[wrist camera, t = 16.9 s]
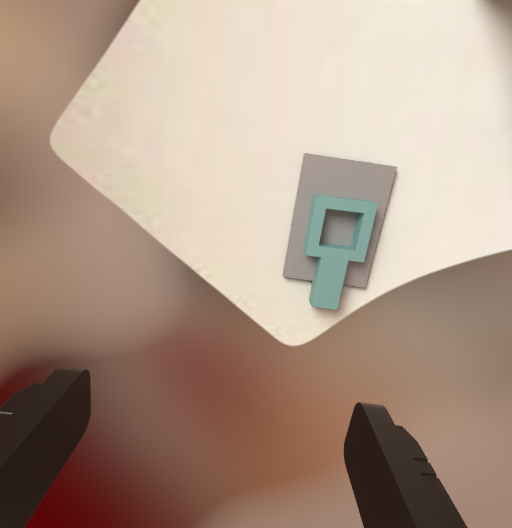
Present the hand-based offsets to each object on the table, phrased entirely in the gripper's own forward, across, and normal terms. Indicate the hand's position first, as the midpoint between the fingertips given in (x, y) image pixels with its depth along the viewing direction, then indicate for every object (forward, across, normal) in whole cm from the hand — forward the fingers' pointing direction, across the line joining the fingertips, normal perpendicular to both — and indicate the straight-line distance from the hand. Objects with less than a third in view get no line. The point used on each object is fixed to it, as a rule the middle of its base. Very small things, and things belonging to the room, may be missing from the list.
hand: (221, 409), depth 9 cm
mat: (+28, -10, -2) cm, 30 cm away
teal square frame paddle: (+27, -10, +1) cm, 29 cm away
